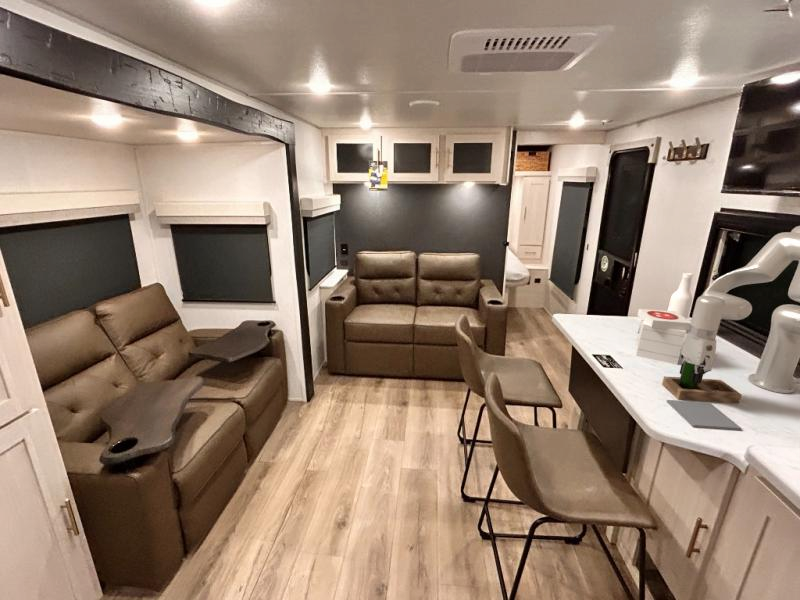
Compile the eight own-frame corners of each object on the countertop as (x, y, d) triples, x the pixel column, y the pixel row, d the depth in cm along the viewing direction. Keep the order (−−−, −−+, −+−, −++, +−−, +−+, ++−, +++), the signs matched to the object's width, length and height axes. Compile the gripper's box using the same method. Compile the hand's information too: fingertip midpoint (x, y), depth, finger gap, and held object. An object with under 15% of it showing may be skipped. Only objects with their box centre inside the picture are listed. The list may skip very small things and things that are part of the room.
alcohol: (658, 327, 198) (672, 271, 189) (673, 326, 199) (687, 271, 190) (673, 333, 190) (688, 276, 180) (687, 332, 191) (704, 275, 182)
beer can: (678, 390, 135) (686, 360, 131) (676, 383, 139) (684, 354, 136) (697, 394, 132) (705, 364, 129) (694, 387, 137) (703, 357, 133)
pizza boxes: (677, 342, 179) (687, 307, 173) (683, 368, 155) (694, 327, 149) (631, 333, 189) (639, 299, 183) (629, 356, 164) (638, 317, 159)
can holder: (718, 388, 140) (720, 379, 139) (738, 403, 130) (741, 394, 129) (661, 384, 141) (664, 376, 140) (678, 399, 132) (680, 390, 131)
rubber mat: (709, 404, 129) (709, 402, 129) (740, 430, 116) (741, 428, 116) (666, 401, 130) (667, 399, 130) (693, 427, 117) (693, 424, 117)
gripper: (733, 342, 121) (717, 391, 126) (697, 322, 137) (685, 367, 142) (708, 341, 121) (694, 390, 127) (675, 322, 137) (664, 366, 143)
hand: (689, 377), depth 135 cm, fingers closed on beer can, 5 cm apart
